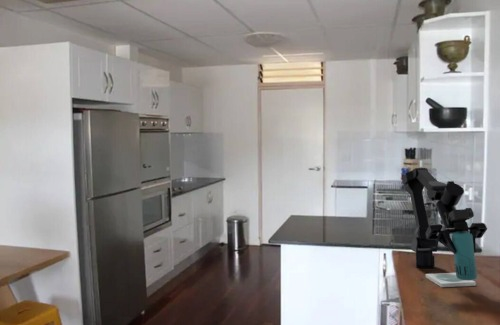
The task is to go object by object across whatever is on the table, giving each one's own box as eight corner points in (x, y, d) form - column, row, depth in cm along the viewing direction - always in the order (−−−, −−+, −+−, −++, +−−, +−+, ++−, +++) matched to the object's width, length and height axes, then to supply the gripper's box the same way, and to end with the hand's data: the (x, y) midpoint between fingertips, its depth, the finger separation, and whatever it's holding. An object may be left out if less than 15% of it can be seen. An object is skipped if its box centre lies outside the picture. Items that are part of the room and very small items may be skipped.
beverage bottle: (477, 279, 142) (471, 219, 141) (479, 285, 136) (472, 223, 135) (456, 278, 144) (449, 220, 144) (456, 285, 138) (449, 224, 138)
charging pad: (425, 277, 157) (425, 273, 157) (457, 275, 158) (457, 272, 158) (441, 287, 145) (441, 283, 145) (475, 285, 146) (475, 281, 146)
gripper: (428, 200, 143) (443, 240, 133) (483, 198, 143) (503, 238, 133) (419, 220, 152) (433, 258, 141) (472, 218, 151) (490, 257, 141)
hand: (464, 252), depth 138 cm, fingers closed on beverage bottle, 6 cm apart
